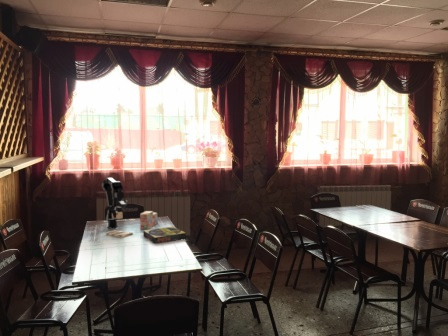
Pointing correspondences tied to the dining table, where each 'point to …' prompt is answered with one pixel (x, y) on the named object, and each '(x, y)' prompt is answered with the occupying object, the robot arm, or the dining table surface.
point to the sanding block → (118, 215)
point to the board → (119, 233)
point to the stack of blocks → (148, 219)
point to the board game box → (164, 234)
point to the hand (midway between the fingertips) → (117, 217)
